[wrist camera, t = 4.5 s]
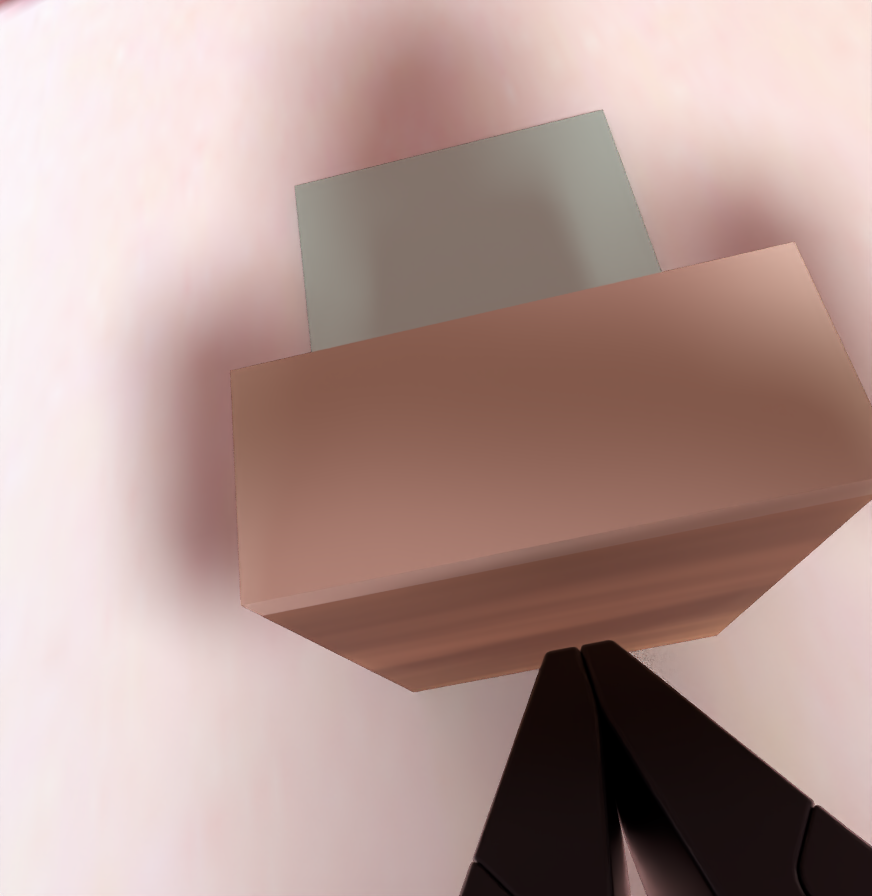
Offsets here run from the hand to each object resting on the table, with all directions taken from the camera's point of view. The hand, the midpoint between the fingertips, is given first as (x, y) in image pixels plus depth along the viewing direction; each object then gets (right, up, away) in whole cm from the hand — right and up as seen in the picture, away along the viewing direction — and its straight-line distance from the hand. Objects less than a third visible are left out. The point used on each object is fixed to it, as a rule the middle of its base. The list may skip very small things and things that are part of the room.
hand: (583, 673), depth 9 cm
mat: (-1, +7, +12) cm, 14 cm away
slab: (+1, -1, +8) cm, 8 cm away
